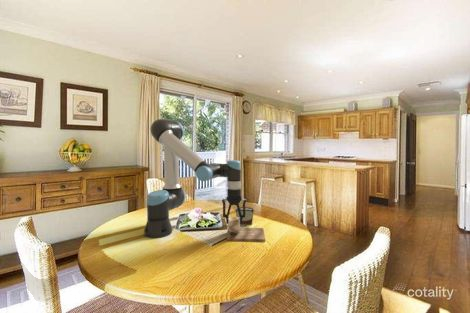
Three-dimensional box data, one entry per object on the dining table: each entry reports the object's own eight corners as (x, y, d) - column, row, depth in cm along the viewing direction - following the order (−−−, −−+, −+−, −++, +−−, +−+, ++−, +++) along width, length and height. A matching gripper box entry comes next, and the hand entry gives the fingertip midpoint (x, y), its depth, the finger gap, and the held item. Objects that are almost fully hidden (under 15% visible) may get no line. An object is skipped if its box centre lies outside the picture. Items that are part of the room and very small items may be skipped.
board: (227, 240, 126) (227, 238, 126) (229, 229, 142) (229, 227, 142) (265, 241, 125) (265, 239, 125) (263, 230, 141) (263, 228, 141)
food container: (254, 221, 156) (254, 206, 155) (254, 224, 150) (254, 209, 149) (235, 220, 157) (235, 205, 156) (234, 224, 151) (234, 208, 150)
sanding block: (229, 233, 129) (229, 222, 129) (230, 227, 138) (230, 217, 138) (238, 233, 129) (238, 222, 128) (238, 227, 138) (238, 217, 137)
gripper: (216, 189, 129) (217, 231, 130) (250, 189, 128) (250, 232, 129) (218, 186, 136) (218, 226, 138) (250, 187, 135) (250, 227, 137)
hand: (234, 229), depth 133 cm, fingers closed on sanding block, 5 cm apart
